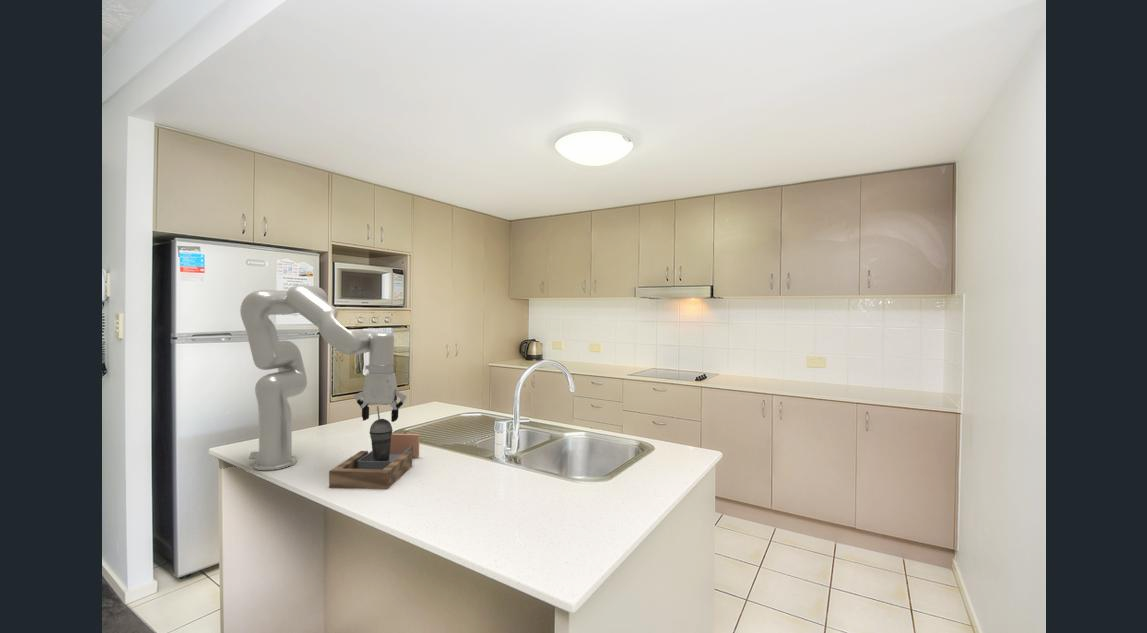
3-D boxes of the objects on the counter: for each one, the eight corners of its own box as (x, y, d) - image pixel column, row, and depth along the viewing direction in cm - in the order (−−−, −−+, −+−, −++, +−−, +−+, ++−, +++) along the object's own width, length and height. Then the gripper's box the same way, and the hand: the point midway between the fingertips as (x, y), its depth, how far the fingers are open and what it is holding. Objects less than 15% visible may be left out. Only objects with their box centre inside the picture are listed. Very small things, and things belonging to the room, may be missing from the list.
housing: (361, 465, 163) (361, 450, 163) (412, 466, 163) (412, 451, 163) (329, 487, 143) (329, 471, 143) (387, 489, 143) (387, 472, 143)
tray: (376, 454, 173) (376, 432, 173) (419, 455, 173) (419, 433, 173) (350, 473, 154) (350, 448, 154) (398, 474, 154) (398, 449, 153)
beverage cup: (387, 469, 155) (387, 408, 155) (365, 468, 155) (365, 408, 155) (396, 461, 163) (396, 403, 162) (375, 461, 163) (375, 403, 162)
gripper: (350, 370, 155) (348, 421, 155) (402, 372, 154) (401, 424, 155) (361, 366, 162) (360, 416, 163) (411, 369, 162) (409, 418, 162)
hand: (380, 420), depth 159 cm, fingers open, 9 cm apart
